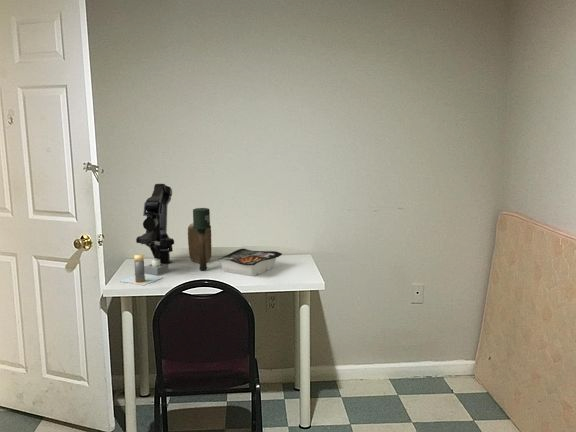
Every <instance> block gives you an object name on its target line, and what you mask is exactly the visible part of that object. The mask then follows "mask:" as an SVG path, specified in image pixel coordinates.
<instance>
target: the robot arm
mask: <svg viewBox="0 0 576 432" xmlns="http://www.w3.org/2000/svg"><path fill="white" fill-rule="evenodd" d="M172 196H173V189H172V188H171V186H168V185H166V184H165V183H155V184H154V187H153V191H152V194H151V196H150V197H148V198H147V199H146V200H145V202H144V204H143V205H144V206H143V215H142V216H143V217H144V216H145V217H146V218H145V219H144V220H143V223H142V227H143V228H144V229H145V233H143V234H142V235H139V236H137V237H136V239H135V242H136V244H141V245H145V246H146V247H148V248H149V249H150V251H151V253H152V256H153V259H160V263H162V264H168V265H169V264H172V263H173V261H172V260H170V259H171V258H170V253H171V252H173V251H174V250H173V245H175V239H173V238H171V237H169V234H168V233H167V230H168V229H167V228H168V227H167V226H168V205H169V203H170V202H171V200H172Z"/></svg>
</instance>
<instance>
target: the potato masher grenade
mask: <svg viewBox="0 0 576 432" xmlns="http://www.w3.org/2000/svg"><path fill="white" fill-rule="evenodd" d="M210 210H211V209H210V208H207V207H197V208H196V207H195V208H193V209H192V218H193V222H192V223H193V229H198V232H199V242H200V262H199V271H201V272H206V271H207V270H208V265H207V263H208V262H206V252H205V240H206V236H205V233H206V231H205V230H206V229H209V228H211V229H212V226H211V212H210Z"/></svg>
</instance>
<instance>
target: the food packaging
mask: <svg viewBox="0 0 576 432" xmlns="http://www.w3.org/2000/svg"><path fill="white" fill-rule="evenodd" d="M282 255H283V253H281V252H279V251H273V250H266V251H265V250H252V249H251V250H250V249H247V248H239V249H236V250H233V251H232V252H231V253H229V254H228V253H227V255H224V256H221V257H219V258H218V260H219V262H220V267H221V268H222V271H223V272H225V273H232V274H237V275H244V276H249V277H255V276H257V275H261V274H262V273H265V272H266V271H270V270H271V269H274V268H275V266H276V265H275V264H276V262H277V261H276V260H277V258H279V257H281V256H282Z"/></svg>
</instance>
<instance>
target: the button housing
mask: <svg viewBox="0 0 576 432" xmlns="http://www.w3.org/2000/svg"><path fill="white" fill-rule="evenodd" d="M144 271H145V275H150V276H156V277H159V276H160V275H163V274H165V273H166V274H167V273H168V272H169V264H162V263H160V266H159V267H152V263H150V264H147V265H144Z"/></svg>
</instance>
